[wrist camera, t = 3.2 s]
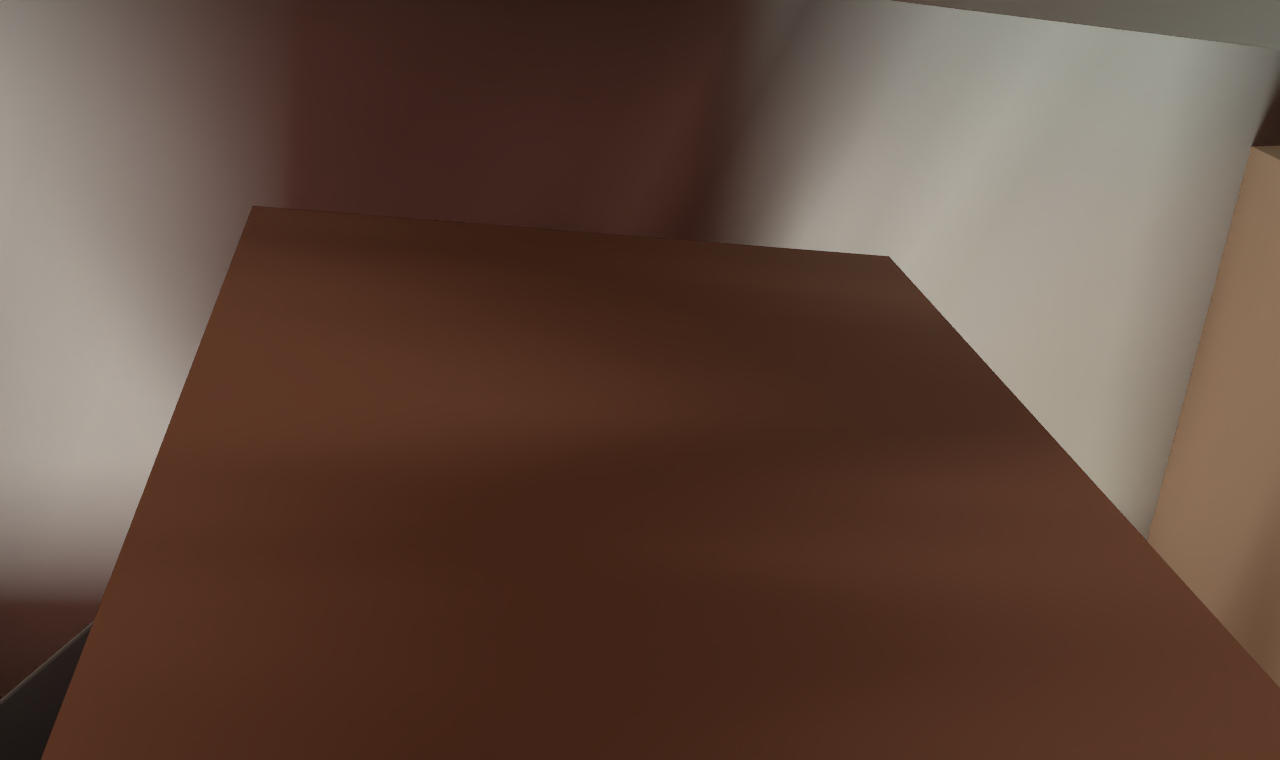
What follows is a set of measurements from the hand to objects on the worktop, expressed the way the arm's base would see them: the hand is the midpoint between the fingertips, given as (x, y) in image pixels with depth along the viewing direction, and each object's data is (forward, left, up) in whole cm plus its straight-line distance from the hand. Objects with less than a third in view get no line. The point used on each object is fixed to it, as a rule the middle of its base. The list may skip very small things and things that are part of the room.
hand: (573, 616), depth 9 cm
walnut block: (0, 0, -2) cm, 2 cm away
